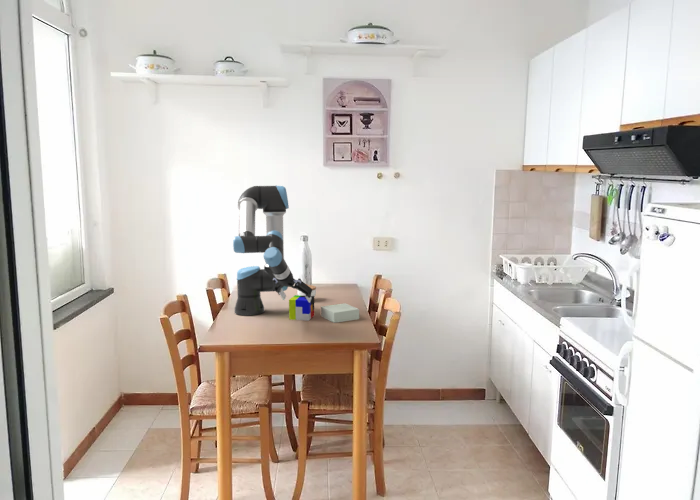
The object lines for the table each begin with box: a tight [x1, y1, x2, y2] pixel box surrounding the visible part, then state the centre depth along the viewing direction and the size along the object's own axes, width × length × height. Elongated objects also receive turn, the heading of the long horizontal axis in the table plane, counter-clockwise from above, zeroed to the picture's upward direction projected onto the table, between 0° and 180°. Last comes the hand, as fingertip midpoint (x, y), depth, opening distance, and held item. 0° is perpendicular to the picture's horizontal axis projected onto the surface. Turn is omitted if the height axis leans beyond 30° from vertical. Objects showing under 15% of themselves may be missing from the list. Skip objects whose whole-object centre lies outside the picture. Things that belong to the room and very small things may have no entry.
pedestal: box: [320, 303, 360, 324], centre depth 273 cm, size 14×14×5 cm
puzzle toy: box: [288, 294, 315, 321], centre depth 273 cm, size 10×10×10 cm
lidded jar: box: [296, 283, 317, 298], centre depth 309 cm, size 11×11×9 cm
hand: (297, 299), depth 266 cm, fingers open, 13 cm apart
